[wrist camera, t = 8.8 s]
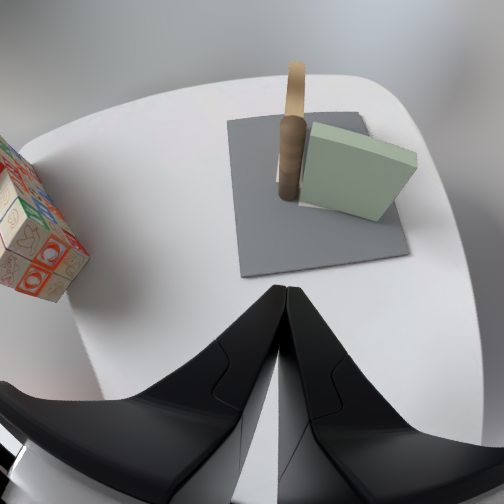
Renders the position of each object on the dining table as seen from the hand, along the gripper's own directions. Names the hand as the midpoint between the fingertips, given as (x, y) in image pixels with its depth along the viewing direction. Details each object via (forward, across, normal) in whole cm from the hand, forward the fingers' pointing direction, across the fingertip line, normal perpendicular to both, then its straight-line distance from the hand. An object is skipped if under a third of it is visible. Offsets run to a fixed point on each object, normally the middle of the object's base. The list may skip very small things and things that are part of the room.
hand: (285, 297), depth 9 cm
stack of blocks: (+13, +28, +5) cm, 31 cm away
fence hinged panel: (+15, -4, +1) cm, 16 cm away
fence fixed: (+18, 0, -2) cm, 19 cm away
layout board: (+18, -2, 0) cm, 18 cm away
